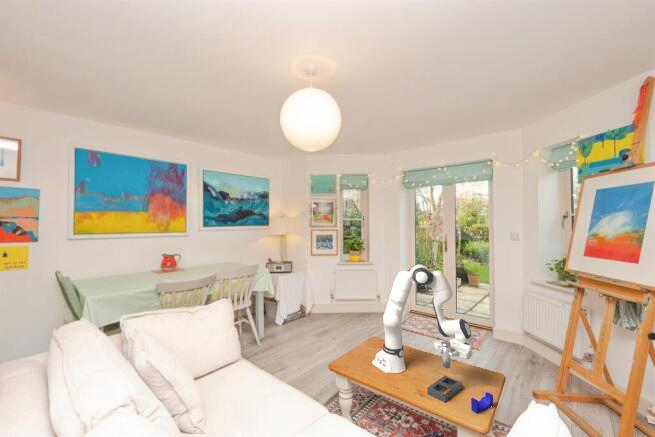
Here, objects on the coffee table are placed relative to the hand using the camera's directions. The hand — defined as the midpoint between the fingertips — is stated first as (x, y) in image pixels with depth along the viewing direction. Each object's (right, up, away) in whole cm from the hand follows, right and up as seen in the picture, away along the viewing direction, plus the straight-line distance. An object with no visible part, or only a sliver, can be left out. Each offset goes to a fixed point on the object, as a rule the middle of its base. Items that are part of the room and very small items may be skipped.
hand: (445, 353), depth 163 cm
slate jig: (-1, -20, -3) cm, 20 cm away
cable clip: (+11, -19, -18) cm, 28 cm away
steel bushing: (+1, -7, 0) cm, 8 cm away
